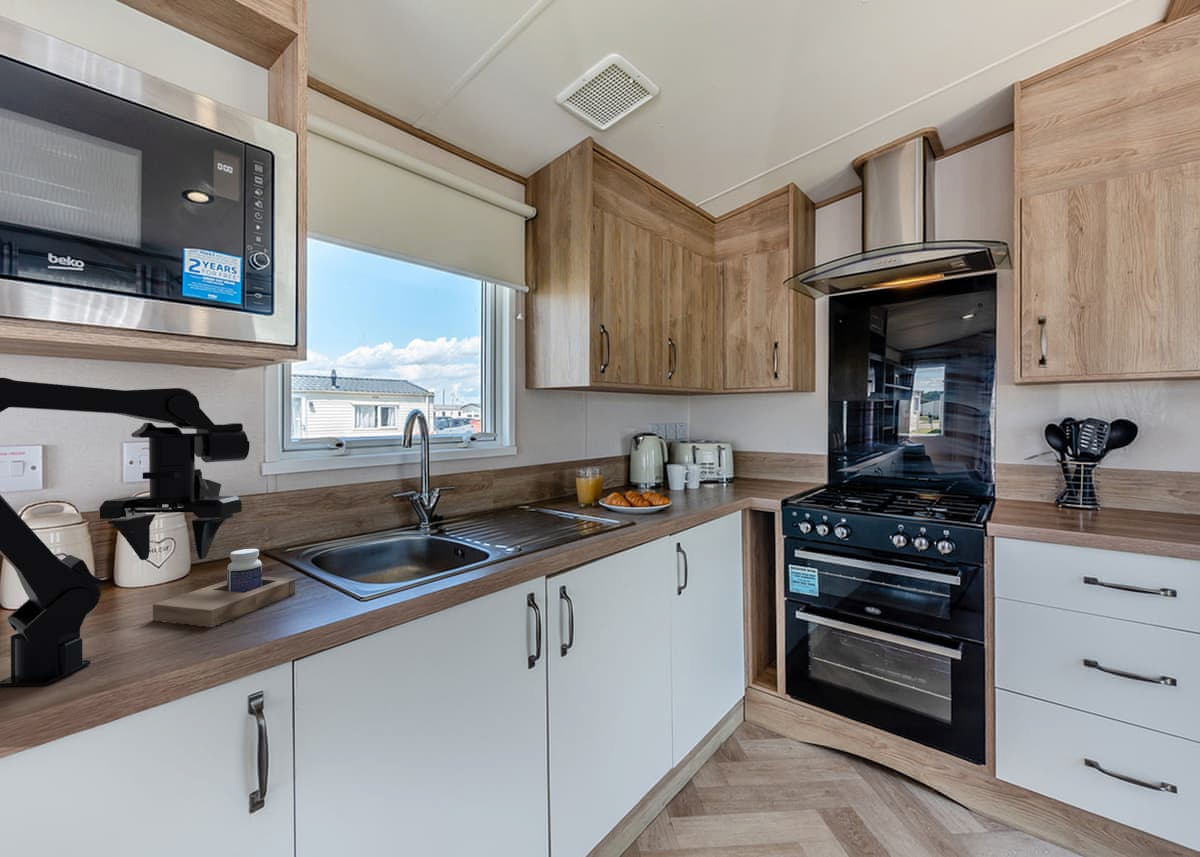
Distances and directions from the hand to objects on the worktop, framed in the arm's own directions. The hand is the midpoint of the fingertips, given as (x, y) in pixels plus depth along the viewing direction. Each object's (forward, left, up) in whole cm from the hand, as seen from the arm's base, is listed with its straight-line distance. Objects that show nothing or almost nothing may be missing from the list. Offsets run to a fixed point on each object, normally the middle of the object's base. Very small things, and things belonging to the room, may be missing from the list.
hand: (173, 559), depth 83 cm
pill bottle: (0, +18, -13) cm, 22 cm away
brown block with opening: (-1, +14, -13) cm, 19 cm away
